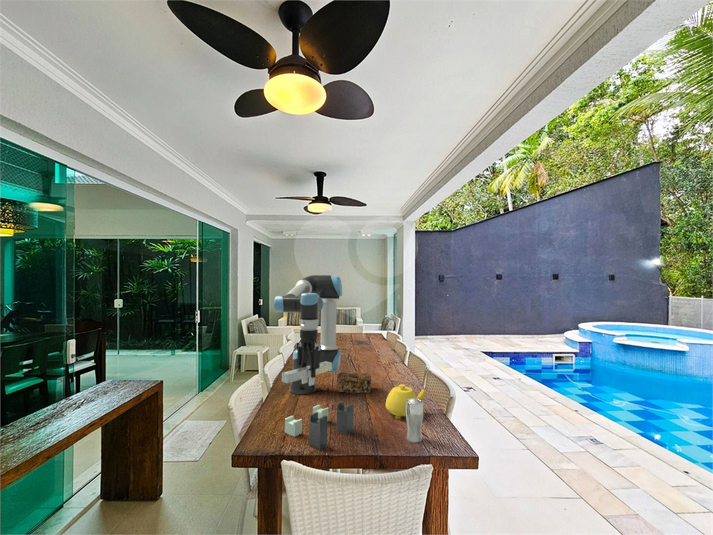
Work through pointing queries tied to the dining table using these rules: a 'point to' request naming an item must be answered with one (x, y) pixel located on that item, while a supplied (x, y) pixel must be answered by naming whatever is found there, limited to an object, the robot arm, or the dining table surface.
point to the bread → (354, 382)
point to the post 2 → (345, 417)
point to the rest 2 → (321, 412)
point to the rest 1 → (293, 426)
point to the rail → (304, 372)
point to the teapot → (401, 400)
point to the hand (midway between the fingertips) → (308, 383)
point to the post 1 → (317, 431)
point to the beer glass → (414, 419)
